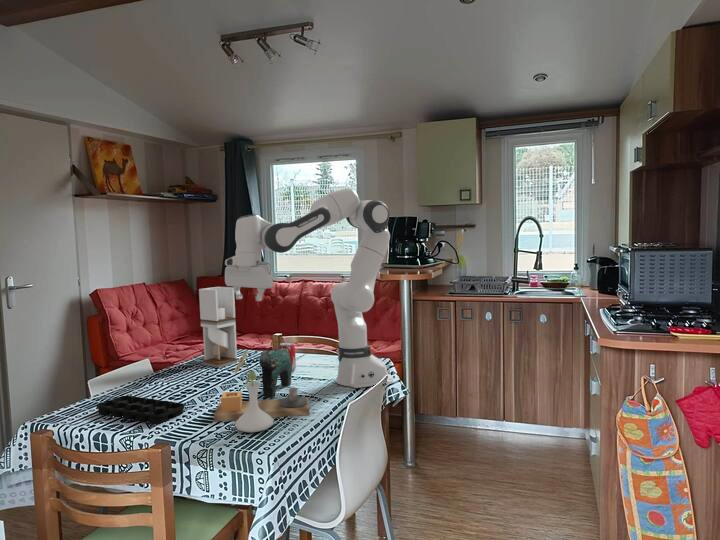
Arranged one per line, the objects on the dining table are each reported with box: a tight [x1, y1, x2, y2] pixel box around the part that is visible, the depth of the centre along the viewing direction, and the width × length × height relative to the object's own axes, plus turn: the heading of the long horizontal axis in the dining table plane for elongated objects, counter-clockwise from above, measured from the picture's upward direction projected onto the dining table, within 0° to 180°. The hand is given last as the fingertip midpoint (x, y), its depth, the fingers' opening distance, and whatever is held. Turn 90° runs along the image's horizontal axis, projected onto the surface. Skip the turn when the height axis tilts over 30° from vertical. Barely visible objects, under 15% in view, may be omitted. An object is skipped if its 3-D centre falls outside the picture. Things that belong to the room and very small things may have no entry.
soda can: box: [279, 341, 297, 373], centre depth 220 cm, size 7×7×12 cm
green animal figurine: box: [259, 339, 293, 399], centre depth 191 cm, size 20×6×20 cm, turn 163°
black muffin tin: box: [96, 395, 185, 425], centre depth 171 cm, size 18×30×4 cm, turn 78°
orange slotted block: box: [220, 390, 243, 412], centre depth 168 cm, size 6×6×4 cm
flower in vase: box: [233, 349, 275, 433], centre depth 153 cm, size 13×11×25 cm
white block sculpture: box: [198, 286, 238, 369], centre depth 236 cm, size 11×11×35 cm
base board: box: [213, 387, 310, 422], centre depth 170 cm, size 30×12×7 cm, turn 98°
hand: (248, 300), depth 180 cm, fingers open, 8 cm apart
